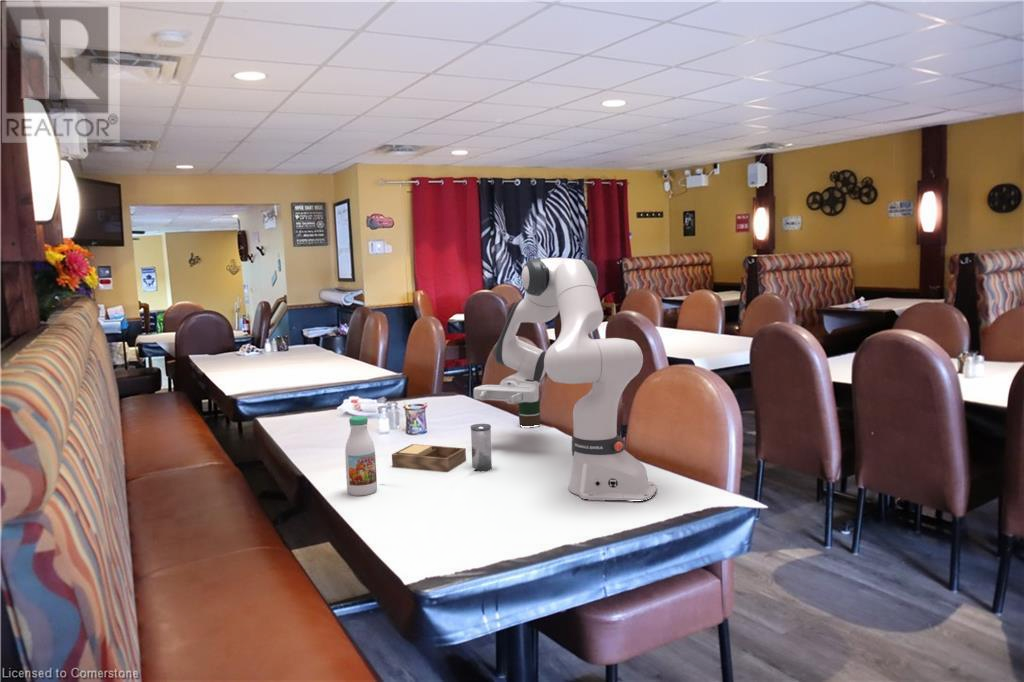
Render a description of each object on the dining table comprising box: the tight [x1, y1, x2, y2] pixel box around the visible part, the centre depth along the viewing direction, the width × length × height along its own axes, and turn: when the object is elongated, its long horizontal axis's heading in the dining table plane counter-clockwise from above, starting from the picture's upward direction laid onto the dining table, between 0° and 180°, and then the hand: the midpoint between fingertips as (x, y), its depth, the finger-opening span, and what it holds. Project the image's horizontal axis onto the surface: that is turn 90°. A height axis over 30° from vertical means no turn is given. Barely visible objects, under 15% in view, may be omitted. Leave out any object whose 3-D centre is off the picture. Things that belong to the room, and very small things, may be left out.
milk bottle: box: [344, 415, 378, 497], centre depth 187 cm, size 8×8×20 cm
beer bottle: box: [518, 397, 541, 426], centre depth 256 cm, size 8×8×24 cm
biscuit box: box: [399, 444, 433, 456], centre depth 211 cm, size 6×9×4 cm, turn 158°
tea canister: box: [470, 423, 493, 473], centre depth 205 cm, size 6×6×13 cm
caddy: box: [391, 443, 467, 473], centre depth 210 cm, size 18×12×4 cm, turn 68°
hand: (496, 398), depth 215 cm, fingers open, 8 cm apart
